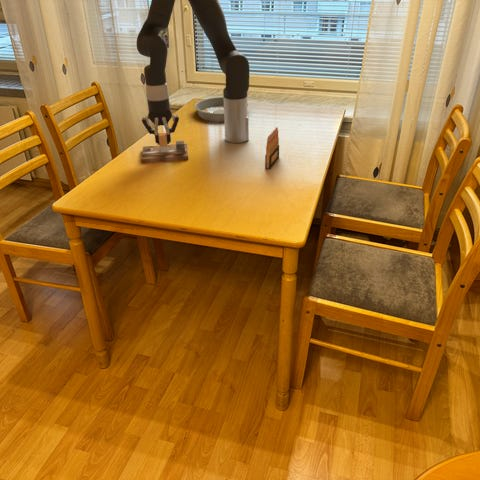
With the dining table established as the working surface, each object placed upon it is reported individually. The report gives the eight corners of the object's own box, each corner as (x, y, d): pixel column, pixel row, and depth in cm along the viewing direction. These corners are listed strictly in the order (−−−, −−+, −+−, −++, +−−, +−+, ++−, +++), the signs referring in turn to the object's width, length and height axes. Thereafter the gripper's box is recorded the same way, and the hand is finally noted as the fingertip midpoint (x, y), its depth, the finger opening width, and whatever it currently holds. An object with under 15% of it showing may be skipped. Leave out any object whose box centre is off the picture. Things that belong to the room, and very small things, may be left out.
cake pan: (258, 110, 214) (258, 101, 211) (229, 127, 197) (228, 116, 194) (215, 102, 225) (214, 93, 222) (184, 117, 208) (183, 107, 205)
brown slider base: (187, 147, 179) (186, 133, 176) (188, 159, 169) (187, 145, 166) (143, 150, 177) (141, 136, 174) (141, 163, 167) (139, 149, 164)
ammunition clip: (269, 169, 161) (270, 137, 154) (264, 168, 161) (265, 136, 155) (279, 157, 169) (280, 126, 162) (274, 157, 170) (275, 125, 163)
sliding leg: (168, 146, 174) (166, 129, 171) (168, 154, 169) (166, 135, 165) (160, 147, 174) (158, 129, 170) (160, 154, 168) (158, 136, 165)
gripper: (177, 92, 162) (182, 138, 172) (137, 94, 161) (144, 141, 170) (178, 98, 156) (182, 146, 165) (136, 101, 154) (143, 149, 164)
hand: (163, 143), depth 168 cm, fingers closed on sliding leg, 3 cm apart
